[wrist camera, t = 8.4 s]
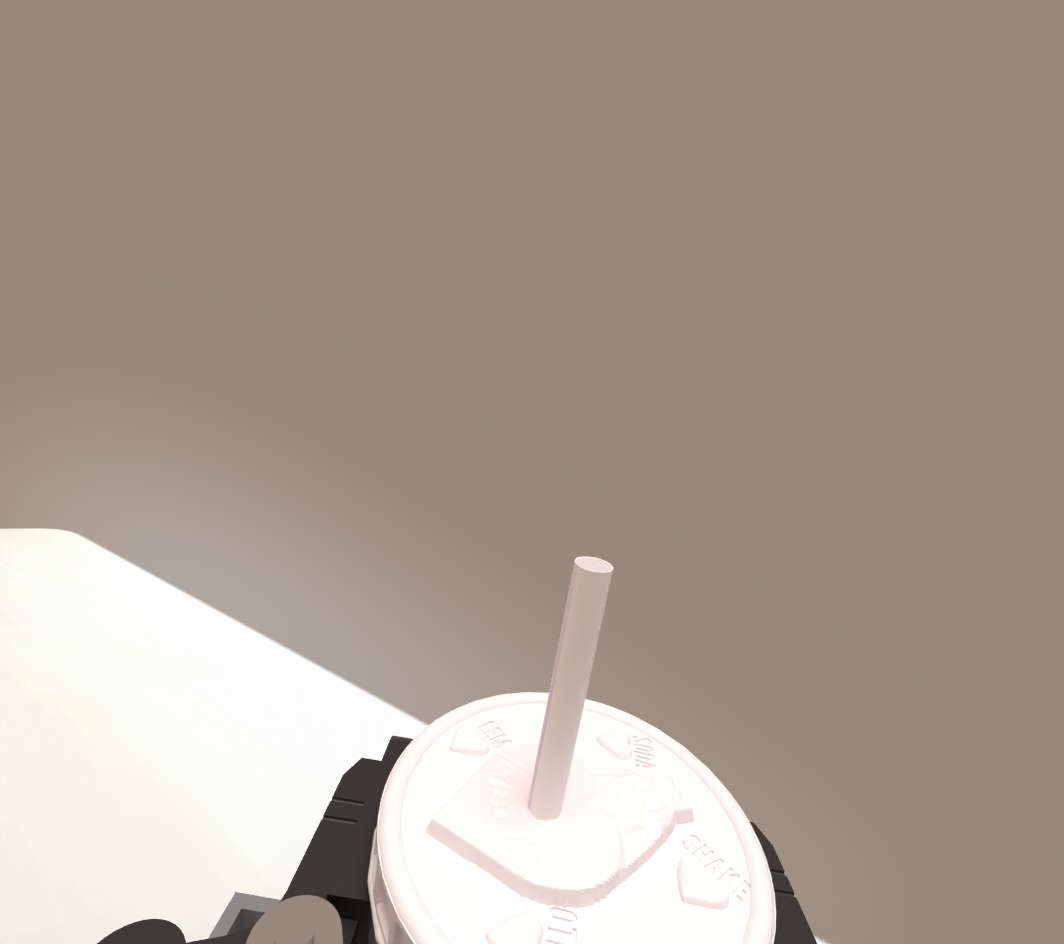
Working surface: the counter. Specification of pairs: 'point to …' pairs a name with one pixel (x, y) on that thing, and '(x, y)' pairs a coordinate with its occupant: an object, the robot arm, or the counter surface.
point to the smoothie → (563, 822)
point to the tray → (242, 913)
